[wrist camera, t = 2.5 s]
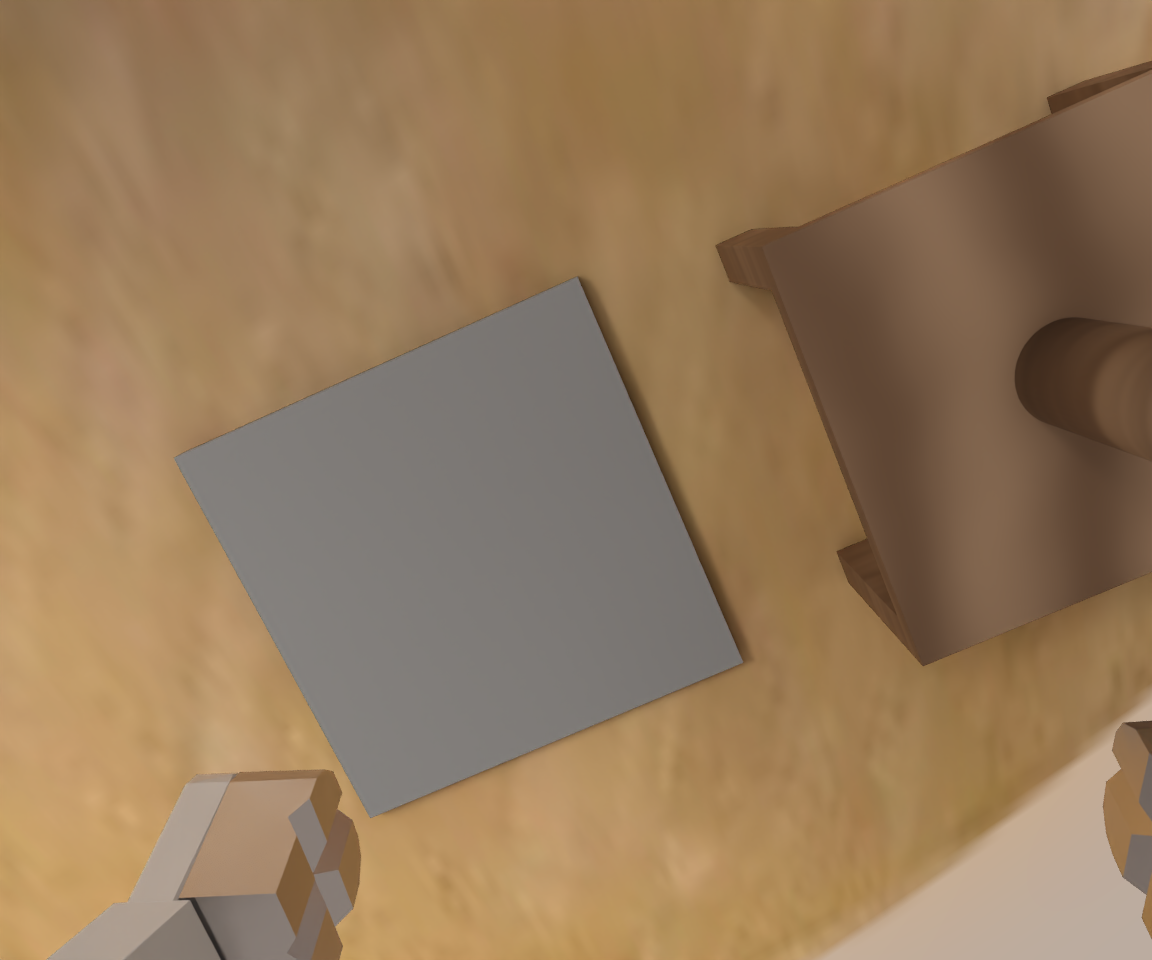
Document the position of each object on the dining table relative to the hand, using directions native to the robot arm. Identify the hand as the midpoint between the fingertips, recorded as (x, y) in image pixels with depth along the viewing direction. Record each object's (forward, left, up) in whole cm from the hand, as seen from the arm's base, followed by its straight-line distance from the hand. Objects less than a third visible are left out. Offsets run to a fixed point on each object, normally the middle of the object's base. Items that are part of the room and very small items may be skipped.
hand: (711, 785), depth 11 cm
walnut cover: (+13, -4, -28) cm, 31 cm away
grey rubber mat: (-7, -4, -28) cm, 29 cm away
